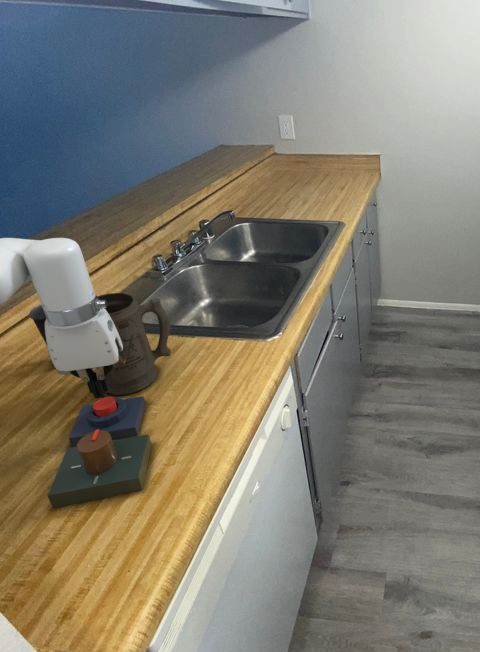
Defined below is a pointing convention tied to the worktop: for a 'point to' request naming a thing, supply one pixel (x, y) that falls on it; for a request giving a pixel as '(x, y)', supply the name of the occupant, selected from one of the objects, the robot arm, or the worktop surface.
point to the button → (105, 406)
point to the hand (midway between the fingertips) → (102, 393)
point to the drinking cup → (39, 320)
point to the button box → (110, 420)
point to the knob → (97, 451)
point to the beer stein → (135, 342)
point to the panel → (101, 474)
